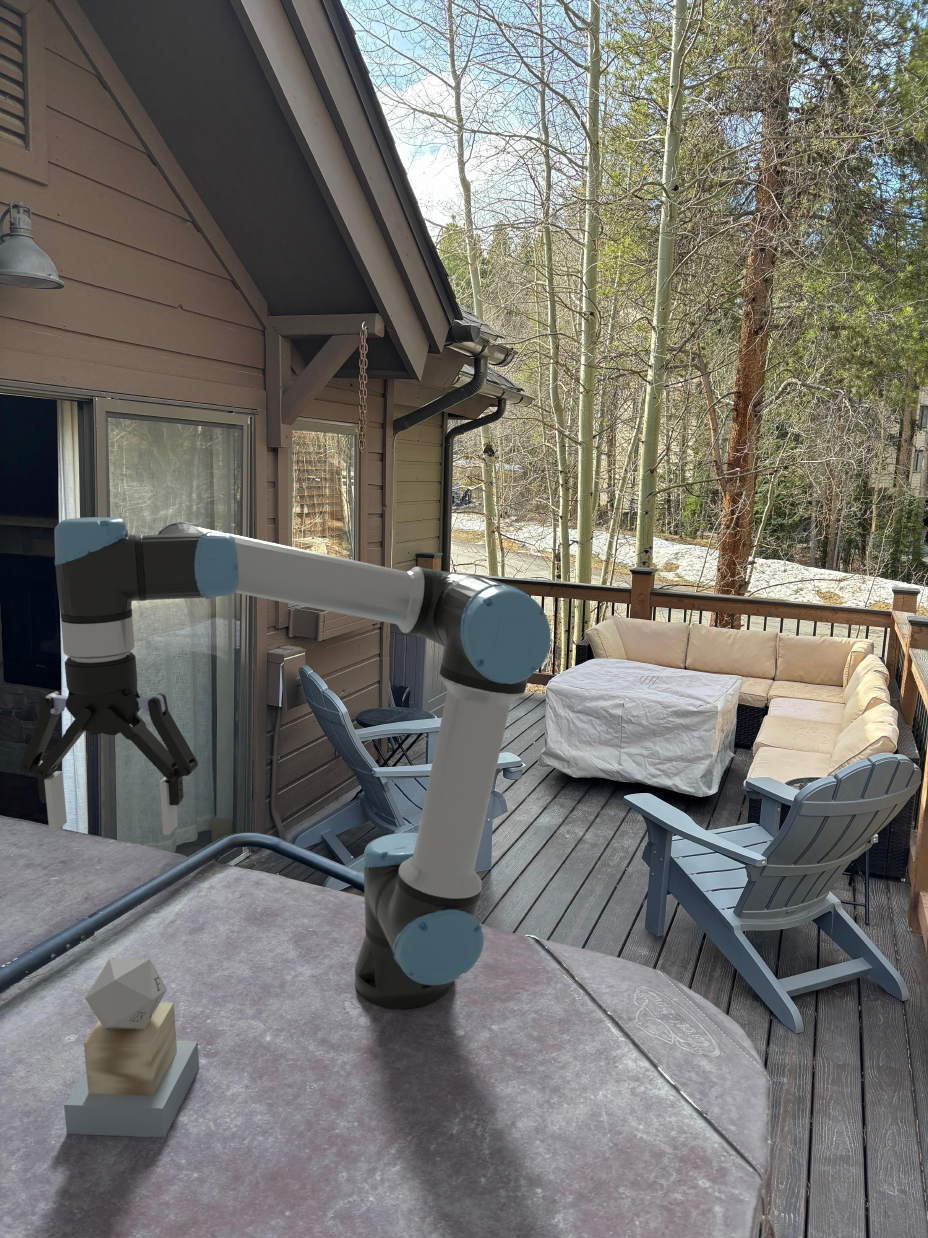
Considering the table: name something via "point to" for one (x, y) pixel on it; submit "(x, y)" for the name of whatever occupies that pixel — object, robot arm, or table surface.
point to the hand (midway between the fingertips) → (114, 828)
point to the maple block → (131, 1055)
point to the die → (126, 994)
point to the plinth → (134, 1102)
